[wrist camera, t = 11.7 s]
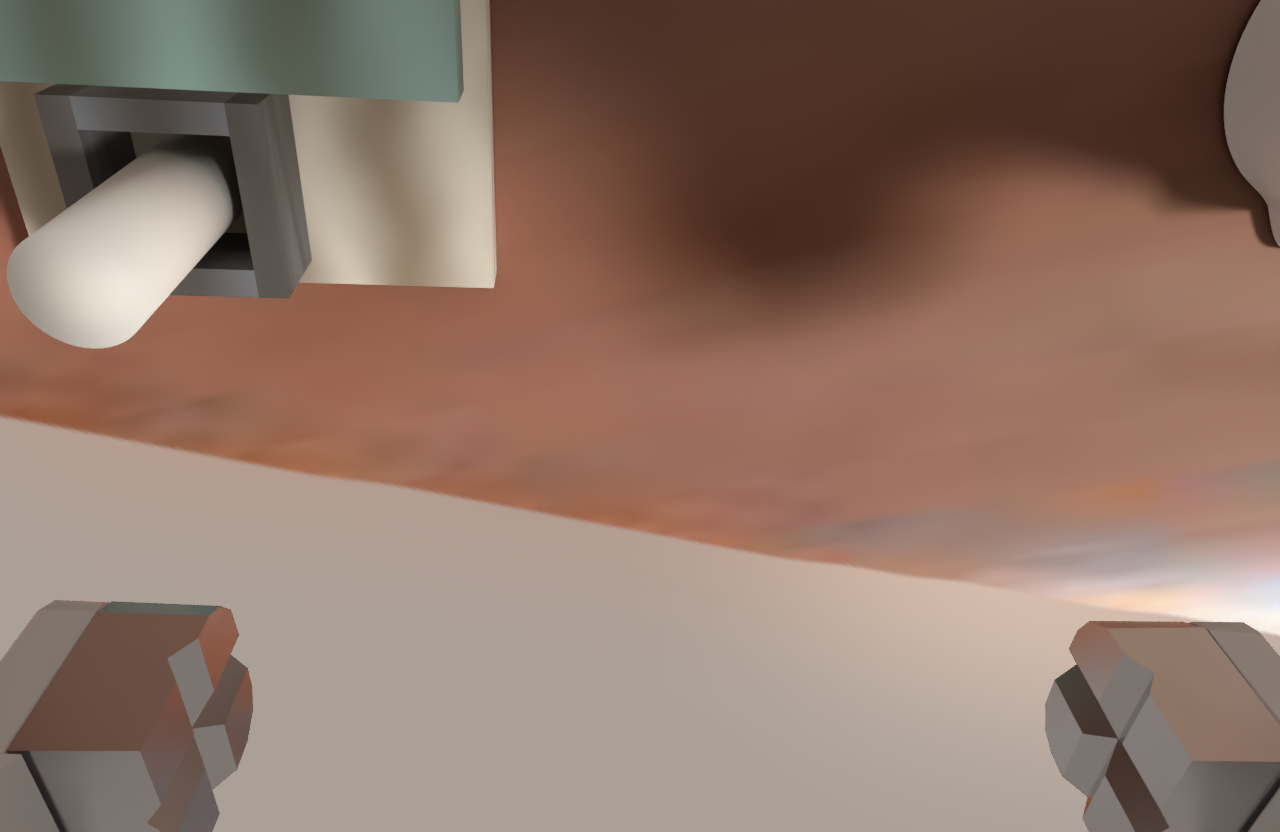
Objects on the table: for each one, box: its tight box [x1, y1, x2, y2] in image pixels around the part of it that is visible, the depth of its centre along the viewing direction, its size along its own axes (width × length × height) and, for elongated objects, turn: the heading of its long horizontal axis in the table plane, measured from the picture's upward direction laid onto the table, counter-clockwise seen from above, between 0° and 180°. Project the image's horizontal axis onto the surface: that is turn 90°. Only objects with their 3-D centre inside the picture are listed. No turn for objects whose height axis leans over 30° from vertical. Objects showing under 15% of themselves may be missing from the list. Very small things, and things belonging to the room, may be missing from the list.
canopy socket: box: [0, 0, 497, 298], centre depth 32 cm, size 20×20×13 cm
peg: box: [7, 134, 243, 348], centre depth 33 cm, size 4×4×12 cm
